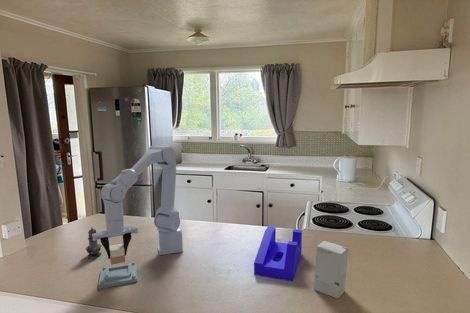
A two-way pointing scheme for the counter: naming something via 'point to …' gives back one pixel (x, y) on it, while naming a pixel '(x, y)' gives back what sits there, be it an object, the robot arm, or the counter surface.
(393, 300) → the counter surface
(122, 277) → the base plate
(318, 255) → the skincare box
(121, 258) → the cream and red block
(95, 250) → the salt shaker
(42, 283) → the counter surface
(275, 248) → the bracket
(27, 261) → the counter surface
